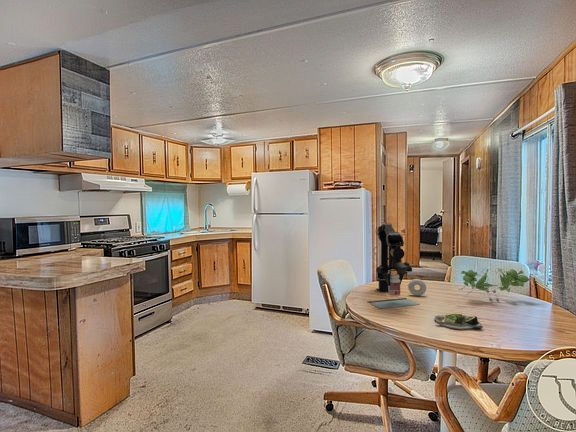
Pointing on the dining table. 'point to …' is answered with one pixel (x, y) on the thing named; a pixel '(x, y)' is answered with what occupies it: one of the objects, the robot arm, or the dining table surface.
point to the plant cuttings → (505, 282)
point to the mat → (394, 303)
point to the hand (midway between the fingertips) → (394, 285)
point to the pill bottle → (394, 285)
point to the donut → (420, 283)
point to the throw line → (386, 300)
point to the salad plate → (458, 321)
